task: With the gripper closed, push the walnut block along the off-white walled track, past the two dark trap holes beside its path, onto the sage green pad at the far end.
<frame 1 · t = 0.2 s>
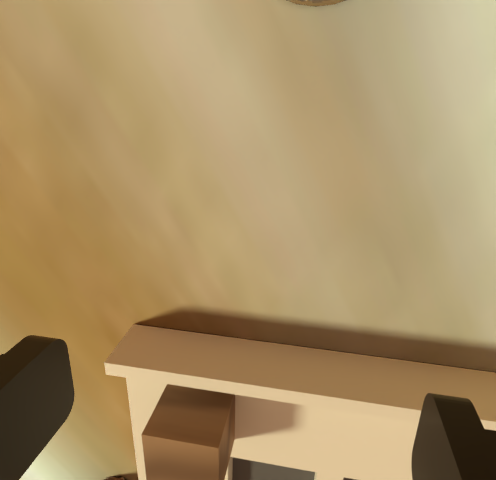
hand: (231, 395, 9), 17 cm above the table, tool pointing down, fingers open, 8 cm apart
walnut block: (202, 409, 31), point 2 cm above the table, touching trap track
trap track: (331, 443, 32), on the table
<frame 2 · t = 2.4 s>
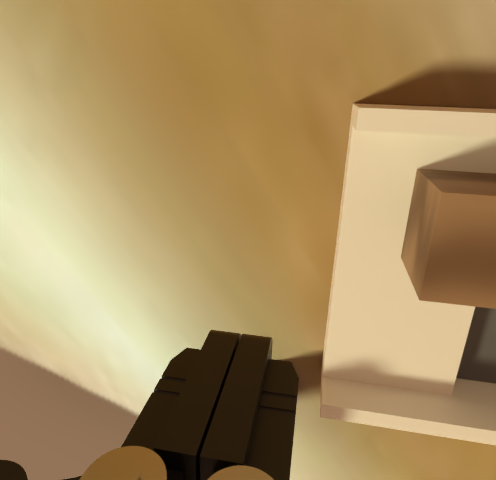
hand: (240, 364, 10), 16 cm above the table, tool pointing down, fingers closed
walnut block: (457, 218, 21), point 2 cm above the table, touching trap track
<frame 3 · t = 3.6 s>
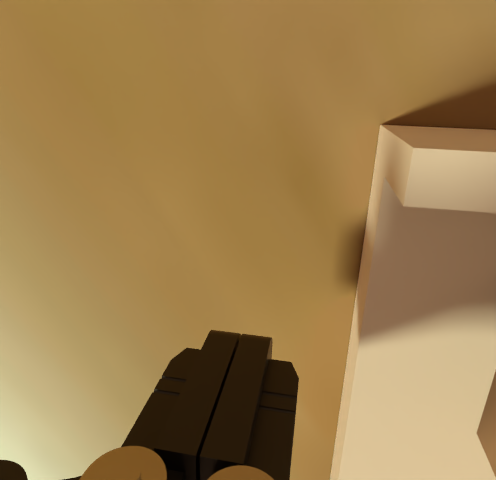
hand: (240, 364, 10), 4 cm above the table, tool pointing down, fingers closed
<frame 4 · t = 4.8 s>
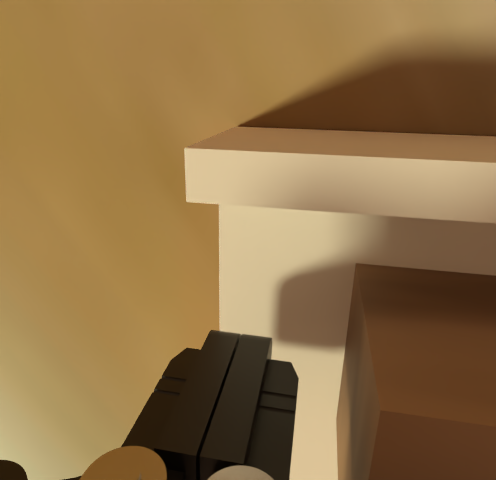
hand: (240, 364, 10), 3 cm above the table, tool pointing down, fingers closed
walnut block: (442, 359, 11), point 2 cm above the table, touching gripper, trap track
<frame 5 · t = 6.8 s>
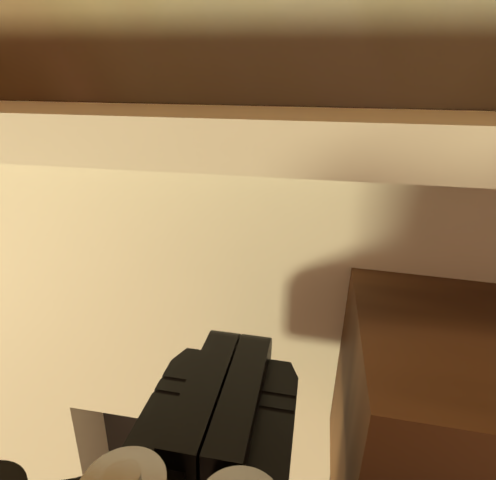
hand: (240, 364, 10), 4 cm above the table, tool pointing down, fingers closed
walnut block: (434, 362, 11), point 2 cm above the table, touching gripper, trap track
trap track: (305, 376, 14), on the table
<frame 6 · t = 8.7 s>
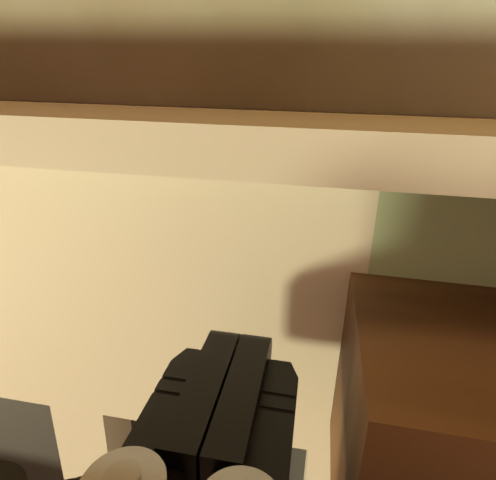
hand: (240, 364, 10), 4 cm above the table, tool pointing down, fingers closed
walnut block: (434, 366, 11), point 2 cm above the table, touching gripper, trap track
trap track: (102, 351, 15), on the table
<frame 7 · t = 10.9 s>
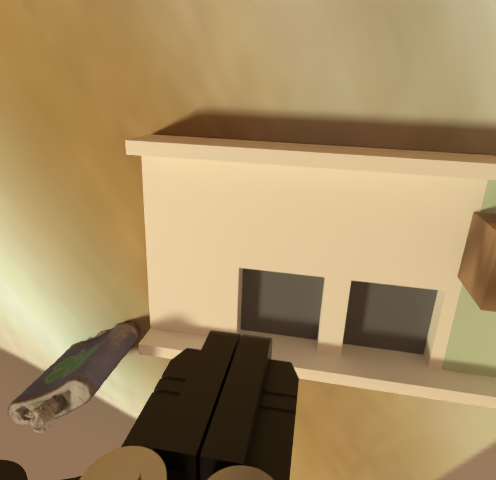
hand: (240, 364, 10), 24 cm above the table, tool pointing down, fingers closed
flask: (105, 342, 41), on the table
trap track: (339, 257, 33), on the table
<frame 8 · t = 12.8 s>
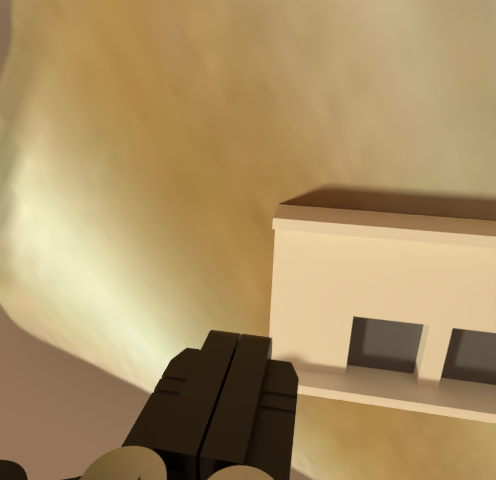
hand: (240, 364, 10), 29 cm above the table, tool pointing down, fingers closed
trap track: (438, 306, 39), on the table
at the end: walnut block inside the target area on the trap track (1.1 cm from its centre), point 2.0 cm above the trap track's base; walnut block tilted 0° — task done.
